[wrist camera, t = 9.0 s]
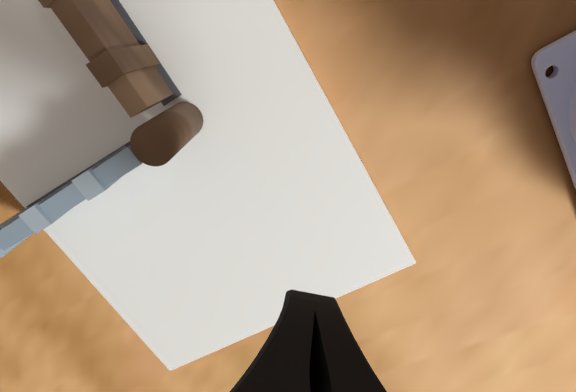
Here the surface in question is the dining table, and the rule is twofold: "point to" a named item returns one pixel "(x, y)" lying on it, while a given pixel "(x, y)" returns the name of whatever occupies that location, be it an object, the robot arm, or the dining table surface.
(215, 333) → the card
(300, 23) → the dining table surface
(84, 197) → the fence folding panel
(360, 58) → the dining table surface
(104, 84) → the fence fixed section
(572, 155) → the robot arm
